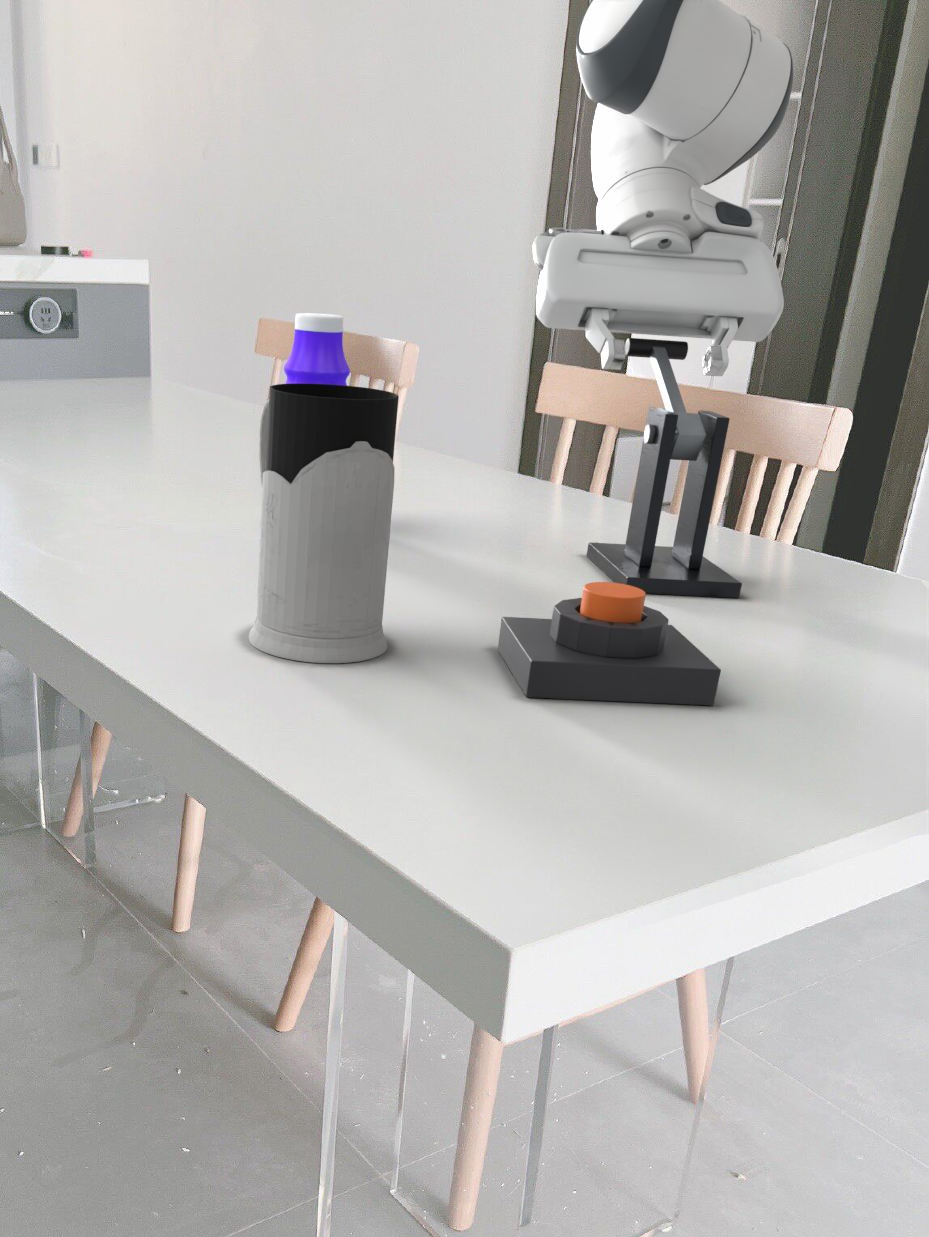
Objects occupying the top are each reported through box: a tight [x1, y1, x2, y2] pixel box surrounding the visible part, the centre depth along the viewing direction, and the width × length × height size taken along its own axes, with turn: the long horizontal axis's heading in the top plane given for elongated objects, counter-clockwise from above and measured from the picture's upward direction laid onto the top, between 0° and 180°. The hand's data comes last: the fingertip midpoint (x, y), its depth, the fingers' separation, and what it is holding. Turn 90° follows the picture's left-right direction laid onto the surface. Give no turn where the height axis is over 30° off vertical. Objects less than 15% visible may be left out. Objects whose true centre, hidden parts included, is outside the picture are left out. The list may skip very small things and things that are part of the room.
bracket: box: [586, 406, 743, 599], centre depth 96 cm, size 12×9×13 cm
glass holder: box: [248, 383, 399, 664], centre depth 76 cm, size 9×14×15 cm, turn 26°
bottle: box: [283, 312, 351, 386], centre depth 106 cm, size 7×6×17 cm
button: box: [580, 581, 647, 623], centre depth 72 cm, size 4×4×2 cm
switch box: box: [497, 597, 722, 706], centre depth 73 cm, size 11×9×4 cm
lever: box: [624, 337, 706, 462], centre depth 98 cm, size 14×5×2 cm, turn 3°
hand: (665, 367), depth 99 cm, fingers open, 7 cm apart
